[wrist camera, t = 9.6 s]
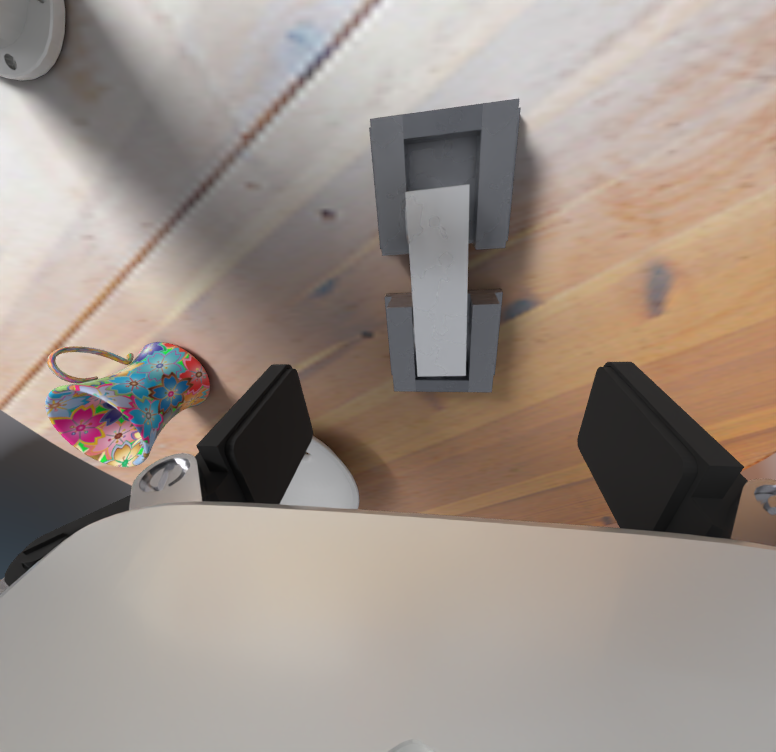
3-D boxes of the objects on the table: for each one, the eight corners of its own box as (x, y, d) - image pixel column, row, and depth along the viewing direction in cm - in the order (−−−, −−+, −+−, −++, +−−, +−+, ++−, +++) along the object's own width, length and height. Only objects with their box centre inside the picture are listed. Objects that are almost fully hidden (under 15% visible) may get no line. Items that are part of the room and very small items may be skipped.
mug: (233, 388, 38) (167, 452, 29) (184, 413, 41) (111, 477, 32) (155, 299, 33) (47, 342, 24) (106, 335, 36) (-4, 385, 27)
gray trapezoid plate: (410, 190, 24) (399, 192, 18) (462, 184, 23) (469, 184, 17) (418, 338, 30) (412, 376, 24) (461, 336, 29) (465, 375, 23)
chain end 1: (371, 129, 23) (359, 120, 20) (517, 110, 21) (531, 97, 18) (382, 247, 27) (373, 256, 24) (505, 238, 25) (515, 247, 22)
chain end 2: (386, 293, 29) (378, 308, 26) (500, 289, 27) (508, 303, 24) (393, 370, 33) (387, 391, 30) (493, 369, 31) (499, 392, 28)
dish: (392, 477, 42) (386, 511, 37) (312, 506, 47) (299, 538, 43) (303, 376, 35) (284, 402, 31) (223, 423, 41) (198, 451, 37)
